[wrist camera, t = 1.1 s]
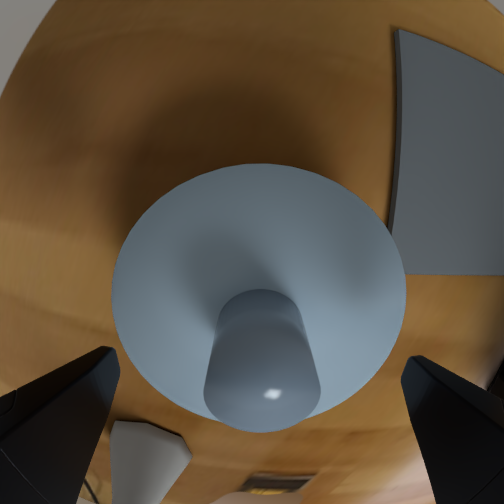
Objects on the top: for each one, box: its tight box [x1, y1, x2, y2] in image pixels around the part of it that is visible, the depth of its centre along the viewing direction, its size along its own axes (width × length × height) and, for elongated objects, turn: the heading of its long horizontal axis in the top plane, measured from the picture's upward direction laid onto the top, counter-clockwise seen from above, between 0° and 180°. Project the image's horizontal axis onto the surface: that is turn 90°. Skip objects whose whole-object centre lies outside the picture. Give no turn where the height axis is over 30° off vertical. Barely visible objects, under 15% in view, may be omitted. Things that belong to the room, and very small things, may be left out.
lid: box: [111, 163, 406, 432], centre depth 9 cm, size 11×11×4 cm
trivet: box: [387, 29, 504, 275], centre depth 13 cm, size 13×13×1 cm
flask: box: [110, 421, 192, 504], centre depth 15 cm, size 7×7×10 cm
